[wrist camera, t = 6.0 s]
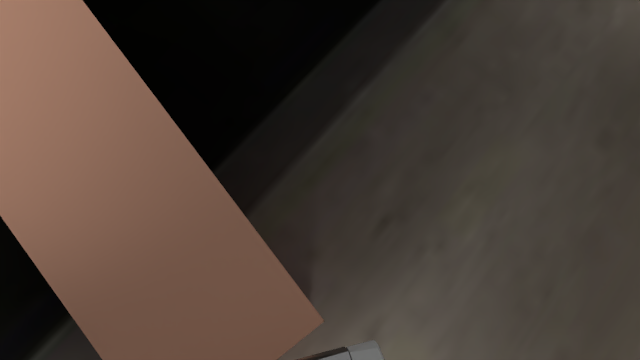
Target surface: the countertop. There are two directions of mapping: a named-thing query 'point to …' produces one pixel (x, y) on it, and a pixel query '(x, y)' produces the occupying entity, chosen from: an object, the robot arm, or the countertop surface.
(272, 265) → the terracotta post
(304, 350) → the countertop surface
